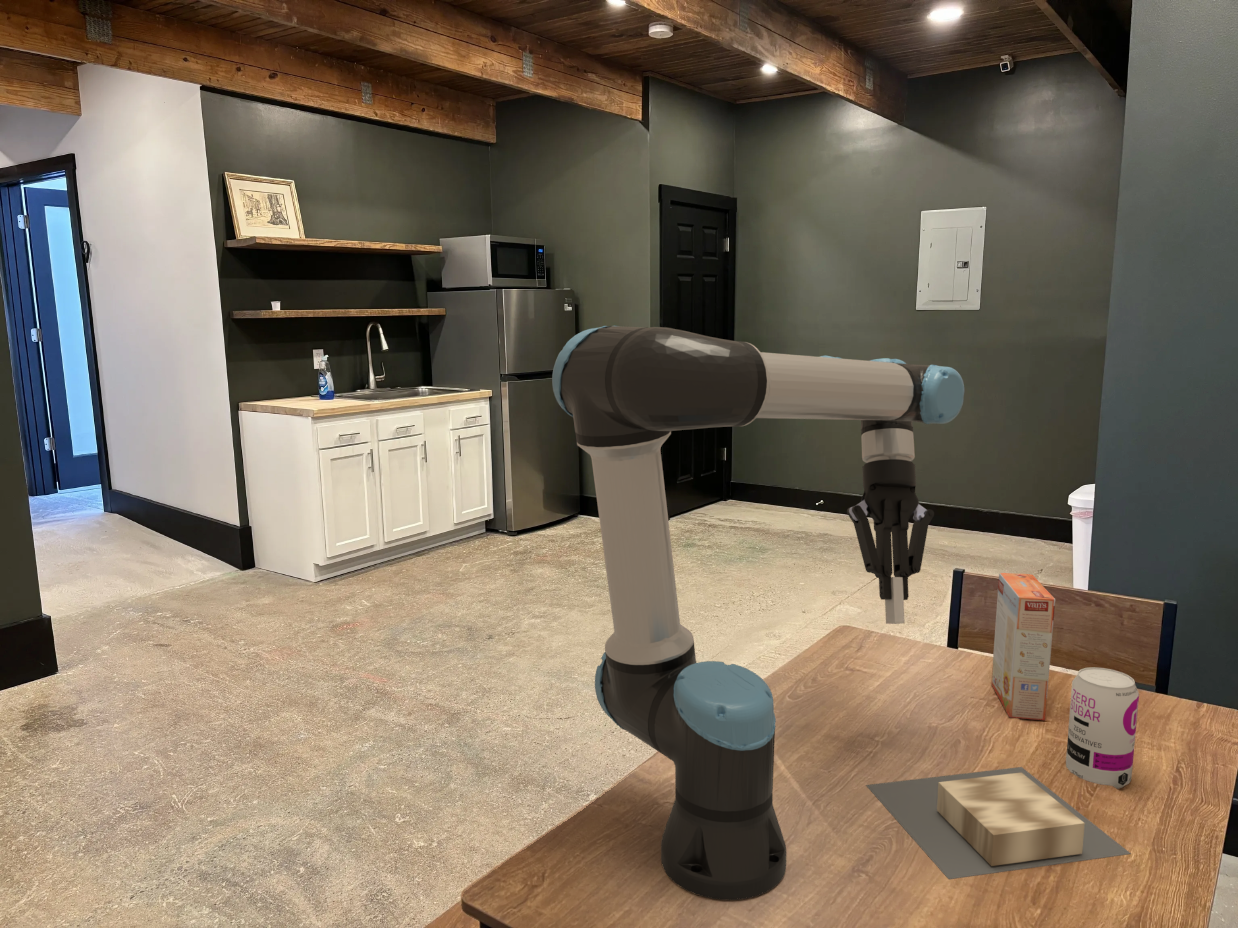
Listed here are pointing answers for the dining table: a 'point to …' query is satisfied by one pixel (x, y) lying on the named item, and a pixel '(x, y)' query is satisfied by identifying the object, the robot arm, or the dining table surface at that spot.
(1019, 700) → the cracker box
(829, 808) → the dining table surface
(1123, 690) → the supplement can
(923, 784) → the mat
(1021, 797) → the wooden block
